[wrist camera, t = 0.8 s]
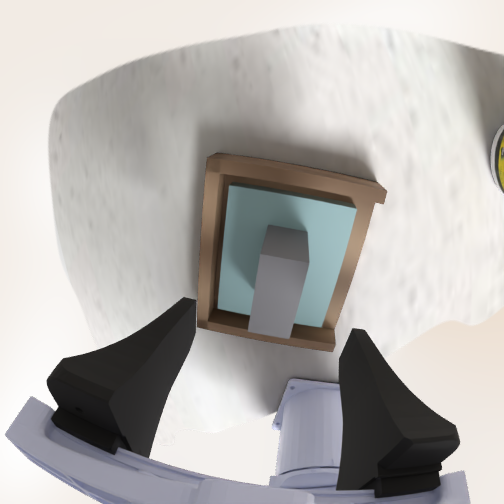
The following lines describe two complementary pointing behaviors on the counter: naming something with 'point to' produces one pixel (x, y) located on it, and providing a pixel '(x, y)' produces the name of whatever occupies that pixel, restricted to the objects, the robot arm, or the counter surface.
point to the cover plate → (290, 214)
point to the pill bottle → (498, 159)
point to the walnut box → (291, 179)
